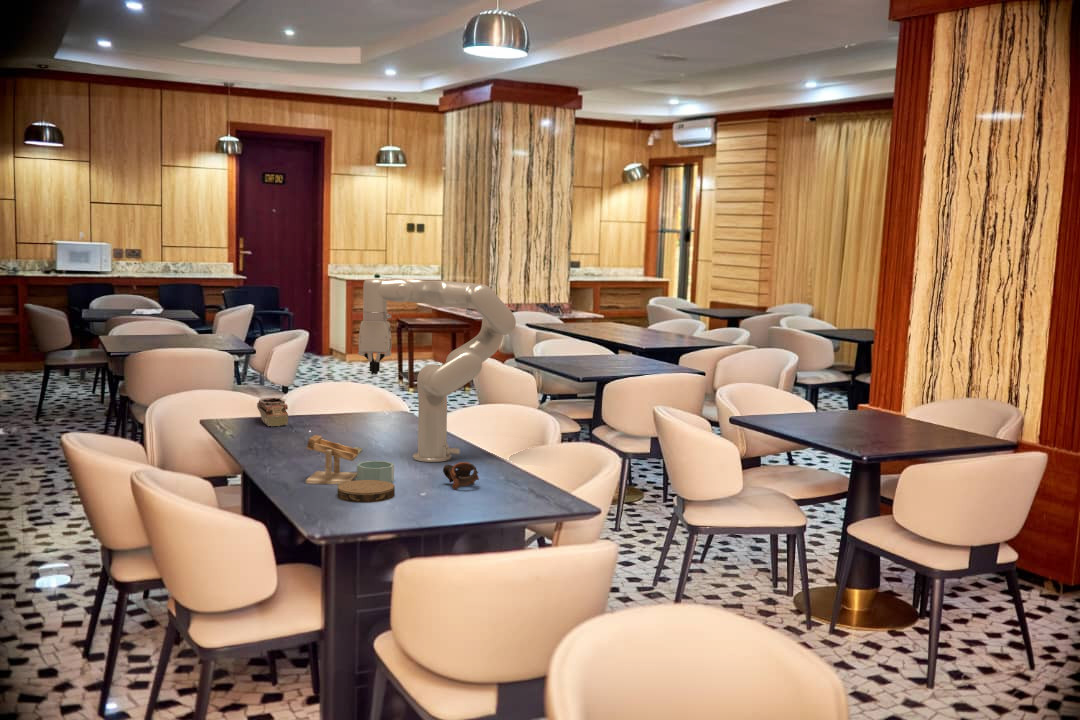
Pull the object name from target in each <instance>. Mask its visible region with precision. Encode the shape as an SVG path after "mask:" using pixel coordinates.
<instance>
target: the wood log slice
mask: <svg viewBox="0 0 1080 720" xmlns="http://www.w3.org/2000/svg"><path fill="white" fill-rule="evenodd" d="M395 487H396V486H395V484H394V483H393V482H392V483H390V482H386V481H380V480H357V479H355V480H354V481H349V482H344V483H342V484H337V497H338V499H339V500H342V501H346V502H351V503H363V504H365V503H378V502H383V501H388V500H391V499H393V498H394V497H395V495H396V494H395V493H396V491H395Z"/></svg>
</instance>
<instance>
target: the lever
mask: <svg viewBox="0 0 1080 720" xmlns="http://www.w3.org/2000/svg"><path fill="white" fill-rule="evenodd" d="M337 443H338V442H333V441H330V440H326V439H323V437H322V435H318V434H314V435H313V436H311V437H310V438H308V442H307V445H306V449H307V450H309V451H310V450H311V451H316V452H320V453H322V454H325V450H332V456H333V457H334V456H336V457H340V459H343V460H347V461H350V462H352V461H354V460H355V459H356V458H357V457H358V456H359V455H360V454H362V452H363V448H361V447H357V446H354V447H350V446H347V445H345V444H344V445H343V444H337Z"/></svg>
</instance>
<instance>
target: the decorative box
mask: <svg viewBox="0 0 1080 720" xmlns="http://www.w3.org/2000/svg"><path fill="white" fill-rule="evenodd" d="M286 401H287V400H286V399H284V398H282V397H263V398H259V400H258V402H257V403H256V408H257V409H258V411H259V414H260V418H261V422H262V421H263V422H262V423H264V424H265V425H266V426H267V427H269V426H271V427H276V426H279V427H280V426H287V425H288V421H289V413H288V412H287V410H289V408H288V407H289V406H288V403H286Z"/></svg>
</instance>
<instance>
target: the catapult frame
mask: <svg viewBox="0 0 1080 720" xmlns="http://www.w3.org/2000/svg"><path fill="white" fill-rule="evenodd" d="M336 443H337V444H340V442H339V443H338V442H336ZM324 454H325V455H324V456H325V460H324V461H325V463H324V464H325V466H324V467H325V470H324V471H322V470H321V471H320V470H316V471H314V473H313V474H311V475H310V476H309V477H308V478H306V479H305V484H312V485H313V484H314V485H315V484H316V485H317V484H319V485H340V484H342V483H344V482H349V481H356V480H357V472H349V471H347V472H345V471H341V469H340V468H341V467H340V466H341V465H340V463H341V460H340V459H341V458H340V457H336V456H333V455H332V450H325V453H324ZM332 456H333V457H332ZM332 459H333V460H332ZM332 461H333V462H332ZM332 463H333V465H332ZM332 467H333V471H332Z"/></svg>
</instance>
